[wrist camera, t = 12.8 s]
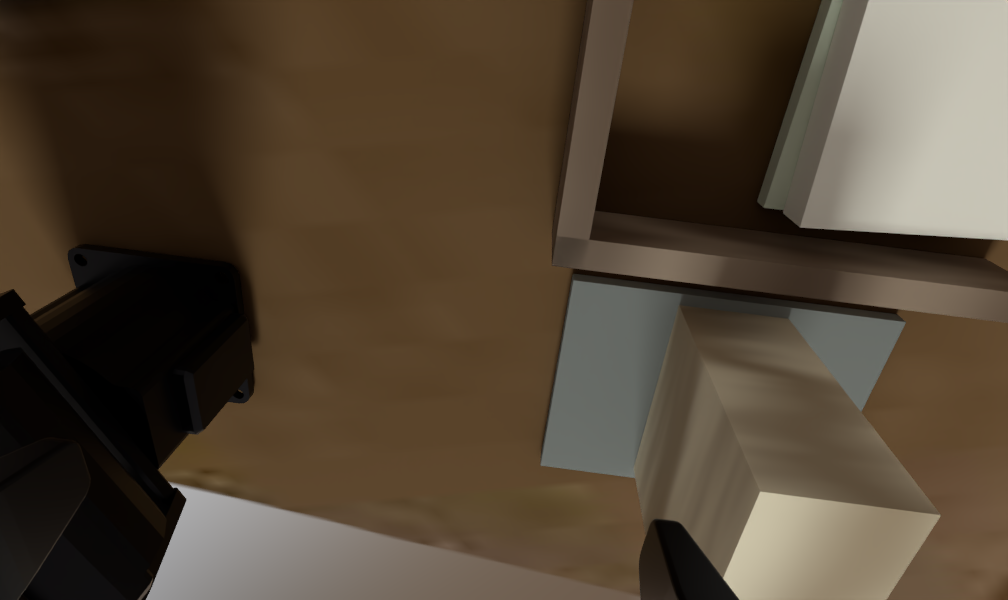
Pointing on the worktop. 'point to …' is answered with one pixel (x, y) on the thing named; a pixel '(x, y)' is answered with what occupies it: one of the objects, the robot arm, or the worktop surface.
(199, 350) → the robot arm
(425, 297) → the worktop surface
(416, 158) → the worktop surface
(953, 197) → the offcut upper
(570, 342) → the mat
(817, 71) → the offcut lower
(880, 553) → the cream rectangular block
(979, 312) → the rack
